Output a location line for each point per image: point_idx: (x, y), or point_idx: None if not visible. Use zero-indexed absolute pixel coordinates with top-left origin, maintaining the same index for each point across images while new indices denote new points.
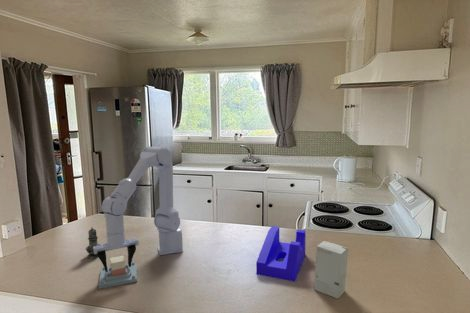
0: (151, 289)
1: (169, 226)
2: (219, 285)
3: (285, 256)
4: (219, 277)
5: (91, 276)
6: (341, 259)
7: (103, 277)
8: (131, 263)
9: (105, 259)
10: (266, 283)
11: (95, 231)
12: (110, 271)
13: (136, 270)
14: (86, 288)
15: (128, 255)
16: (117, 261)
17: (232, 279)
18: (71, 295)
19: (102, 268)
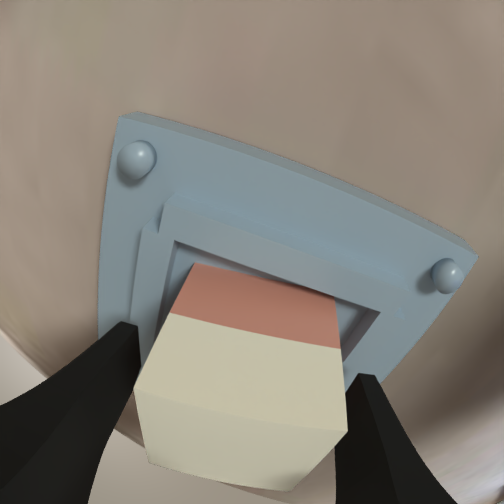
0: (332, 468)
1: None
2: (461, 488)
3: None
4: (497, 469)
5: (56, 161)
6: None
7: (123, 313)
8: (442, 242)
9: (82, 495)
10: (498, 490)
11: None
12: (190, 258)
13: (390, 365)
14: (47, 302)
15: (360, 493)
16: (214, 476)
17: (496, 477)
18: (4, 308)
19: (126, 131)
